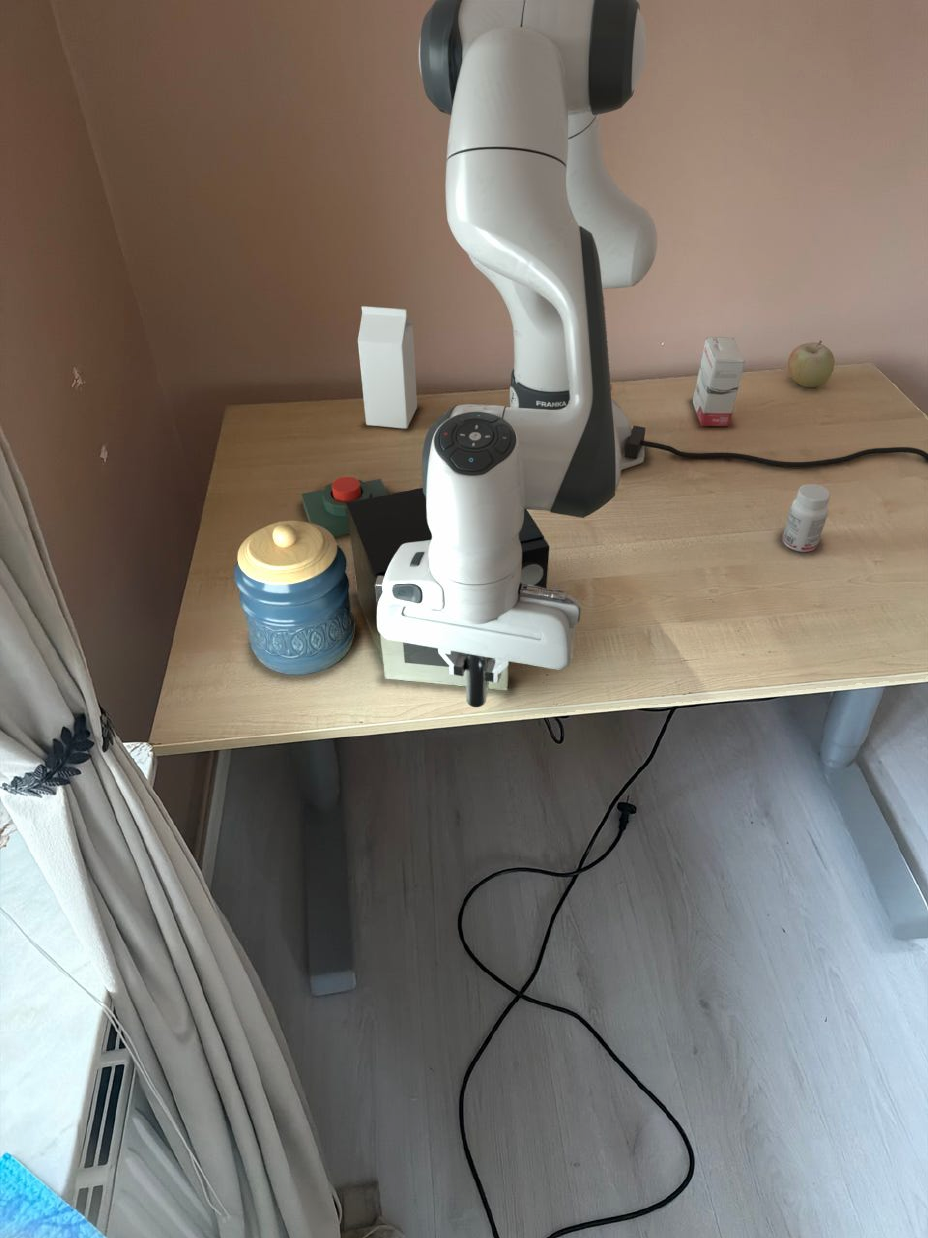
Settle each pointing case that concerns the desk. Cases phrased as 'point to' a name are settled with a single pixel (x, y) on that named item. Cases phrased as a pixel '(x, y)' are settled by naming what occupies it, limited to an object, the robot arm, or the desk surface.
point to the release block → (336, 506)
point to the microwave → (405, 520)
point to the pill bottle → (807, 518)
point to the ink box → (718, 381)
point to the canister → (295, 597)
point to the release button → (346, 489)
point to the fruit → (811, 364)
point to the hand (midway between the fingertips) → (475, 674)
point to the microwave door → (436, 666)
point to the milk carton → (387, 367)
